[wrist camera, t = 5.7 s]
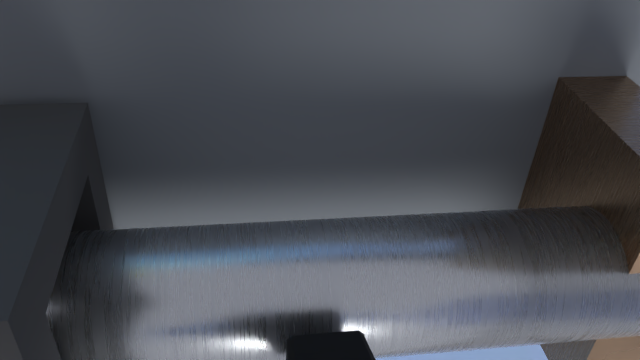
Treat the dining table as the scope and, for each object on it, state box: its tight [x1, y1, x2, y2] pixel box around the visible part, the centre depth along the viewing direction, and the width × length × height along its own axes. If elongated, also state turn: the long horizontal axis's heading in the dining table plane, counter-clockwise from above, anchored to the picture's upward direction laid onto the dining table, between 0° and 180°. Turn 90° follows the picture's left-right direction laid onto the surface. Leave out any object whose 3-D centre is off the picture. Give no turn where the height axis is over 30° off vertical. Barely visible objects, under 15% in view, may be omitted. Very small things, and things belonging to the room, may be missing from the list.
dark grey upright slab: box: [0, 103, 114, 360], centre depth 12 cm, size 2×6×6 cm, turn 177°
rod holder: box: [46, 76, 640, 360], centre depth 13 cm, size 19×6×5 cm, turn 87°
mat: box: [0, 0, 640, 229], centre depth 15 cm, size 20×14×1 cm
